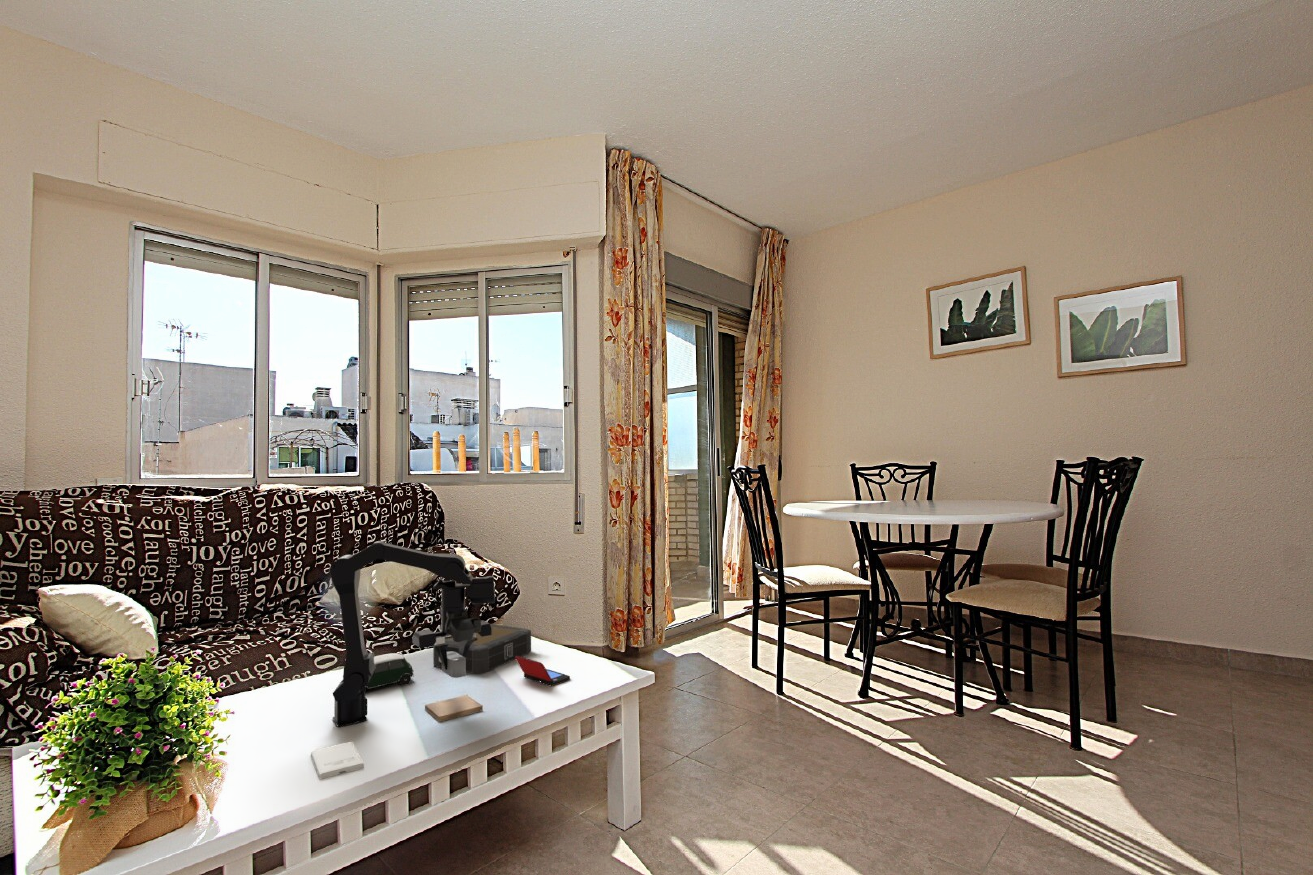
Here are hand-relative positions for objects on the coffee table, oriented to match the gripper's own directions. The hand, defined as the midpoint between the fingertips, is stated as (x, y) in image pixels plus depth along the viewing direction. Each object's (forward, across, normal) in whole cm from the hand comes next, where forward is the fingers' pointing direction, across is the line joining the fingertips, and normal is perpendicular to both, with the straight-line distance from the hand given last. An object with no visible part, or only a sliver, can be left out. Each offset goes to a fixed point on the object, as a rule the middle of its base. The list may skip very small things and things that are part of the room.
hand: (453, 667), depth 165 cm
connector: (+1, 0, +1) cm, 2 cm away
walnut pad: (+10, 0, 0) cm, 11 cm away
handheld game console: (+11, +28, +6) cm, 31 cm away
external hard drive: (+11, -30, -12) cm, 34 cm away
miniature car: (+11, -9, +32) cm, 35 cm away
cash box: (+11, +24, +36) cm, 44 cm away
